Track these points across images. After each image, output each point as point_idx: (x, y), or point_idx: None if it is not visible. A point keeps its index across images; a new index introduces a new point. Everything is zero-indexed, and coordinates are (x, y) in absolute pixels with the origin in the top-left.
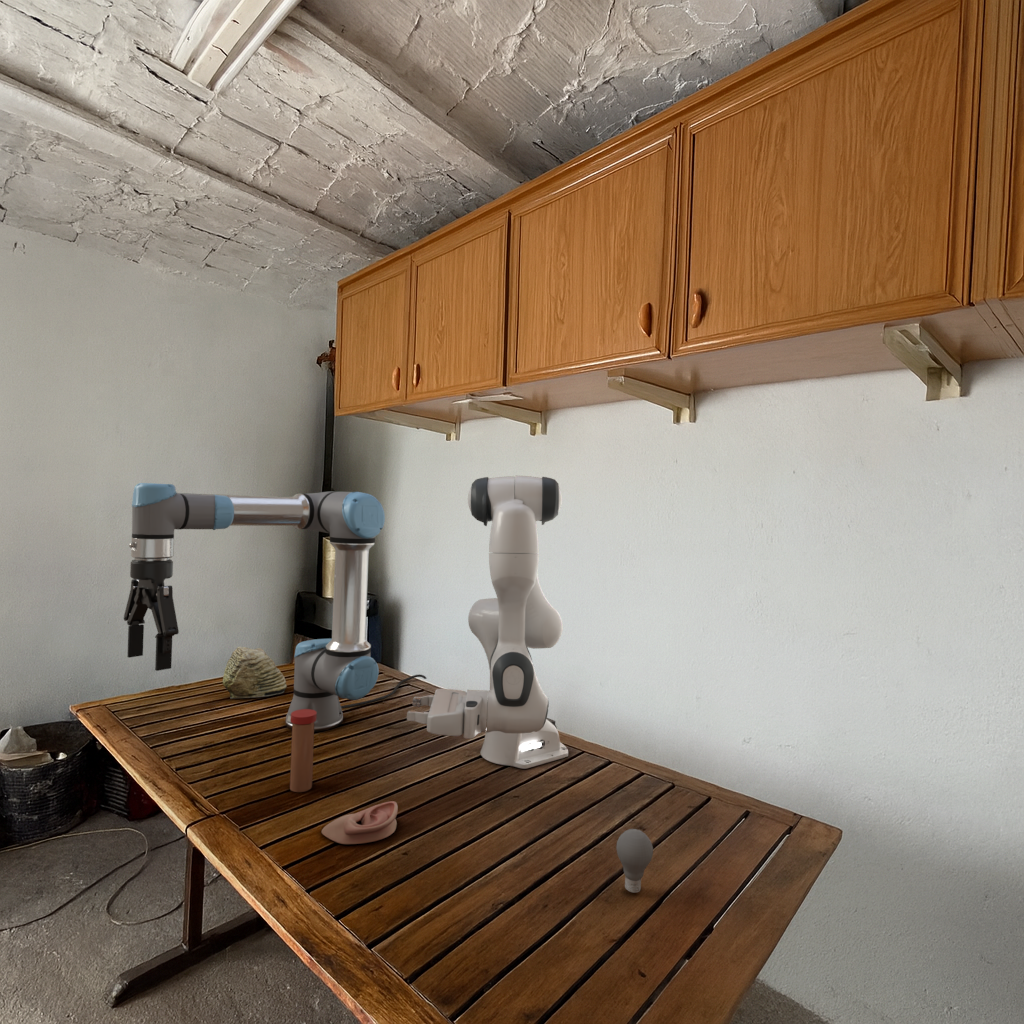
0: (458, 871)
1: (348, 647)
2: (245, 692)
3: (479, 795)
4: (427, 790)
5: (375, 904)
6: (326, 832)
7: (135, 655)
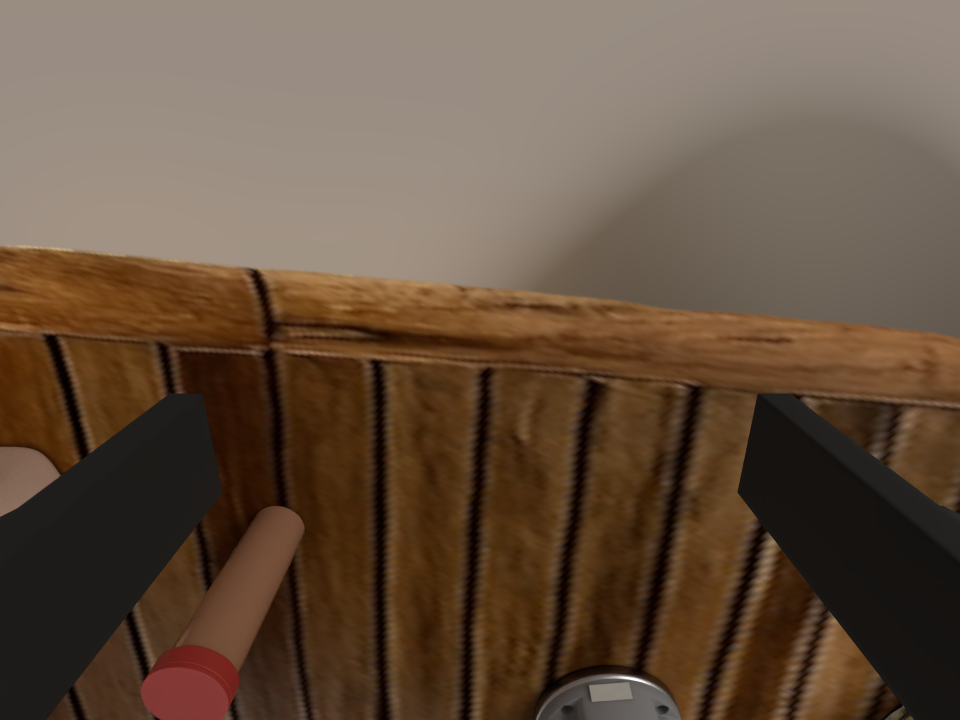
0: None
1: None
2: None
3: None
4: (102, 671)
5: None
6: (13, 453)
7: (753, 446)
